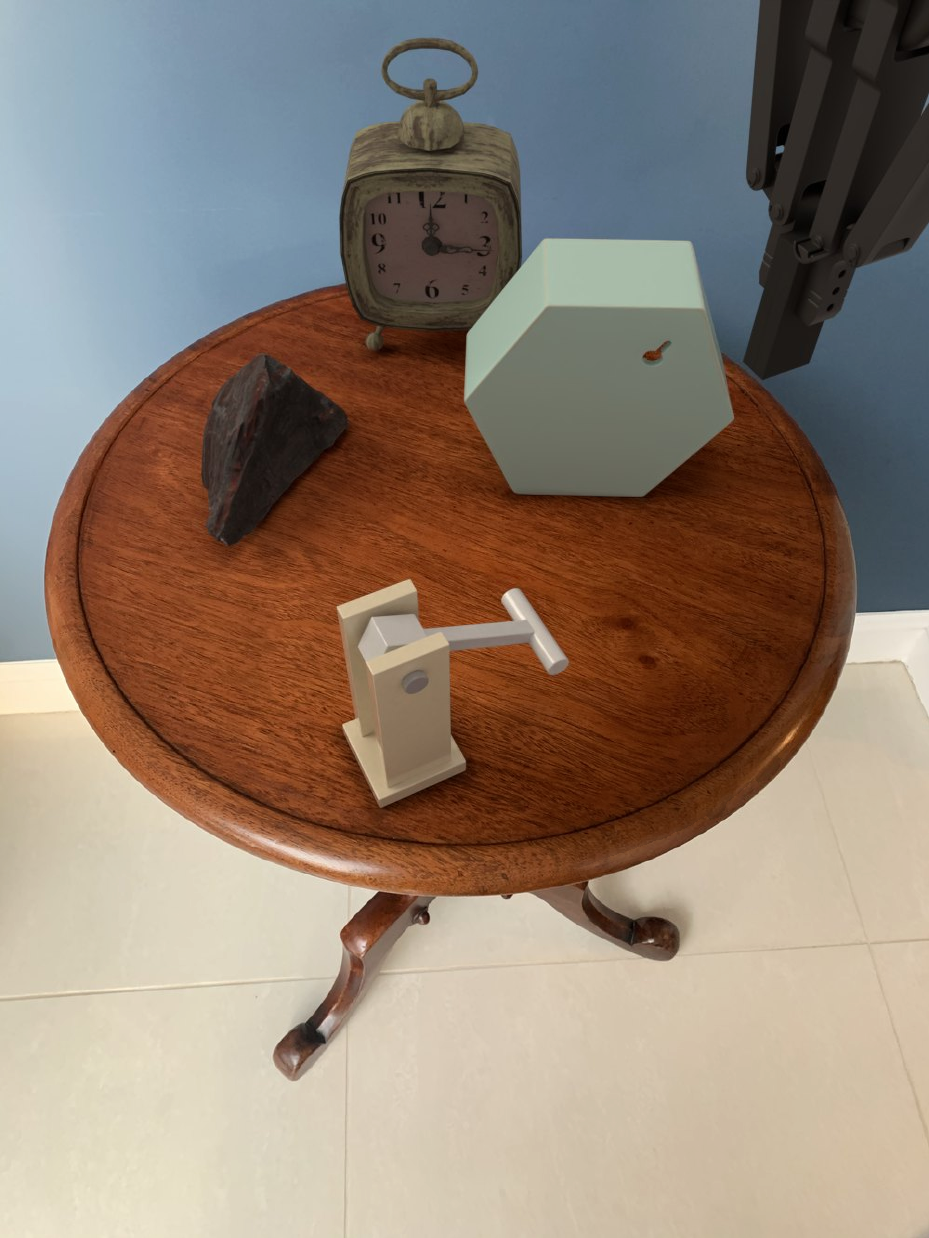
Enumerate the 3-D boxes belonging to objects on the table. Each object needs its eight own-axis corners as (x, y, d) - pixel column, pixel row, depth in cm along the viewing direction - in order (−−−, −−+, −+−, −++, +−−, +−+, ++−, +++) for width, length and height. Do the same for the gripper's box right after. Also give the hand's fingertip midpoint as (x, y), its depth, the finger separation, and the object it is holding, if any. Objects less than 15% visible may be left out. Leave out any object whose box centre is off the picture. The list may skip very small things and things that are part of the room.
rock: (359, 423, 81) (349, 332, 74) (232, 568, 72) (206, 481, 65) (286, 395, 84) (270, 304, 76) (154, 533, 74) (120, 444, 67)
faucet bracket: (426, 698, 65) (419, 566, 54) (466, 770, 62) (467, 645, 51) (343, 733, 64) (318, 604, 53) (380, 808, 61) (362, 688, 49)
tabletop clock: (352, 362, 86) (319, 64, 66) (361, 300, 92) (333, 7, 72) (515, 365, 86) (532, 67, 66) (515, 303, 92) (530, 10, 71)
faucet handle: (511, 608, 62) (527, 581, 60) (559, 679, 59) (577, 652, 57) (343, 621, 55) (357, 591, 53) (386, 703, 52) (402, 673, 50)
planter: (593, 469, 85) (776, 300, 71) (598, 536, 80) (795, 369, 66) (428, 381, 78) (595, 173, 64) (423, 448, 73) (602, 240, 59)
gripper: (743, -370, 29) (632, 308, 48) (1089, -268, 22) (799, 477, 41) (936, -389, 31) (756, 268, 50) (1309, -302, 24) (936, 423, 43)
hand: (776, 362), depth 45 cm, fingers closed
